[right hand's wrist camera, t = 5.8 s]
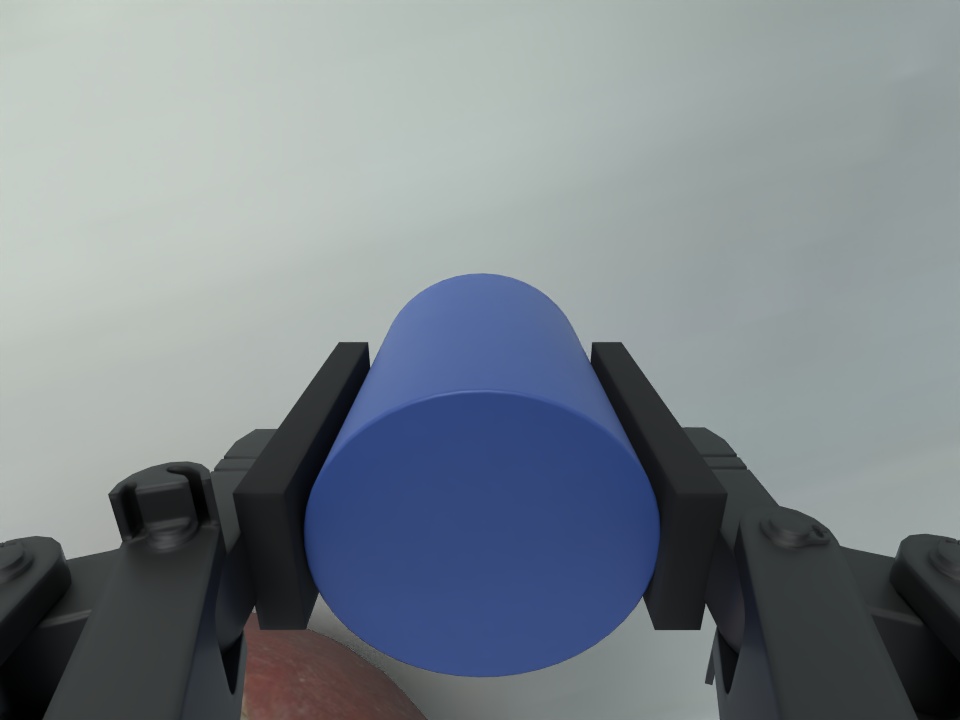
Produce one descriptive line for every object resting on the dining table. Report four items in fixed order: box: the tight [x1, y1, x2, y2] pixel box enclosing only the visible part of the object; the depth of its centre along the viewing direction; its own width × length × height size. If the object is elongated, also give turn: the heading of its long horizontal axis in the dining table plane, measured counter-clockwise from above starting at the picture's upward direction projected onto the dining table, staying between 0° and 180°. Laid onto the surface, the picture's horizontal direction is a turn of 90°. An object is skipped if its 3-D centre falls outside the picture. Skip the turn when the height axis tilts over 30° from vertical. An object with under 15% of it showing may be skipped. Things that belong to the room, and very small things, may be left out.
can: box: [304, 274, 661, 677], centre depth 12 cm, size 6×6×8 cm
